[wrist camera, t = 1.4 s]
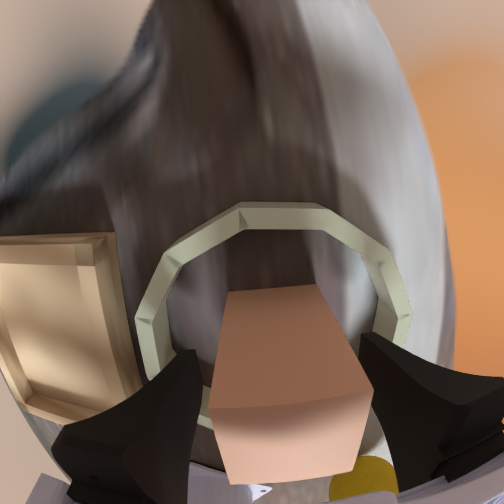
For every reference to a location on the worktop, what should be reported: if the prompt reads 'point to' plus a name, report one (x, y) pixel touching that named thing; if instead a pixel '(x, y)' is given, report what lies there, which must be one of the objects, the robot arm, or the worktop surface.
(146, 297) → the ceramic ring
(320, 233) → the worktop surface
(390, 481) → the lemon
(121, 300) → the birch tray
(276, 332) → the pink block
